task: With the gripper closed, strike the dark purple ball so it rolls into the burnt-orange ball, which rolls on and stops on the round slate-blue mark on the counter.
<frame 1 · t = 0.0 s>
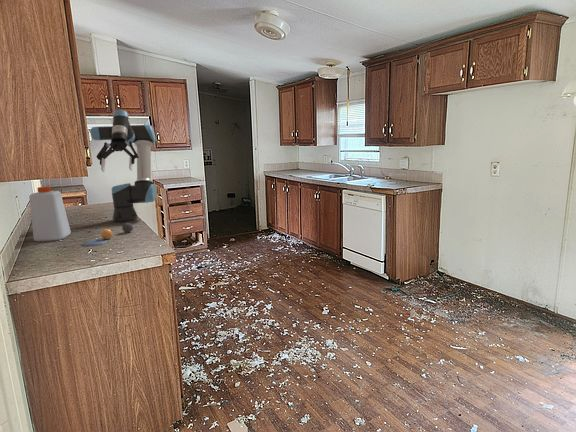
hand: (116, 169, 185), 36 cm above the counter, tool tilted 35°, fingers open, 13 cm apart
orange ball: (106, 233, 190), on the counter
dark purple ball: (127, 227, 202), on the counter
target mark: (95, 242, 184), on the counter
plastic bottle: (53, 238, 197), on the counter
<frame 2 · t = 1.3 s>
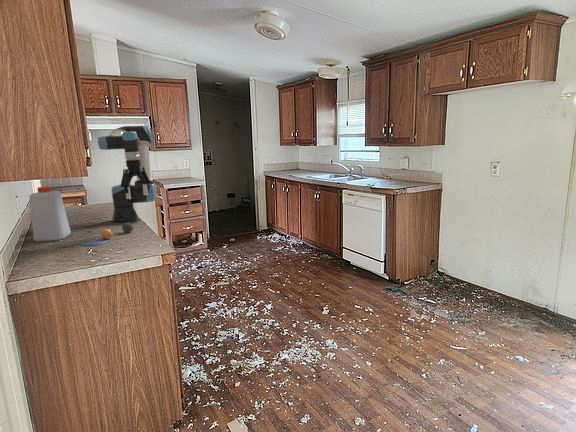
hand: (137, 197, 208), 18 cm above the counter, tool pointing down, fingers open, 12 cm apart
nothing on the counter moved.
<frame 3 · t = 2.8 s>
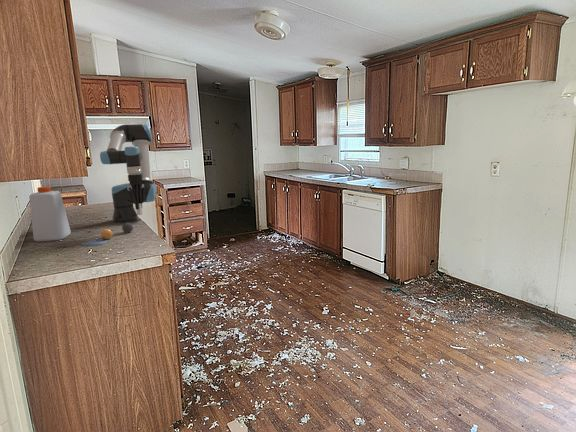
hand: (139, 214, 210), 8 cm above the counter, tool pointing down, fingers closed
nothing on the counter moved.
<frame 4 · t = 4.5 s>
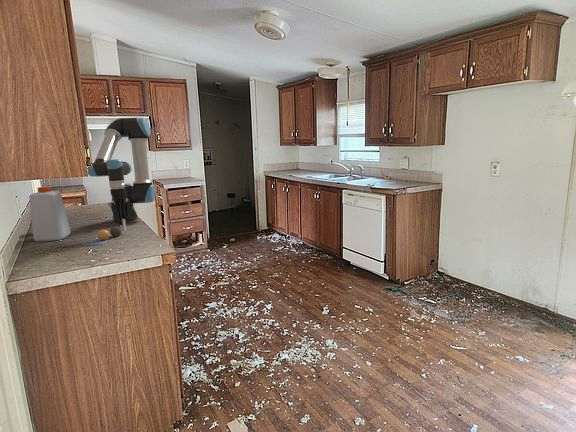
hand: (123, 230, 200), 2 cm above the counter, tool pointing down, fingers closed
orange ball: (103, 234, 188), on the counter
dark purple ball: (115, 231, 195), on the counter
everything else where it was.
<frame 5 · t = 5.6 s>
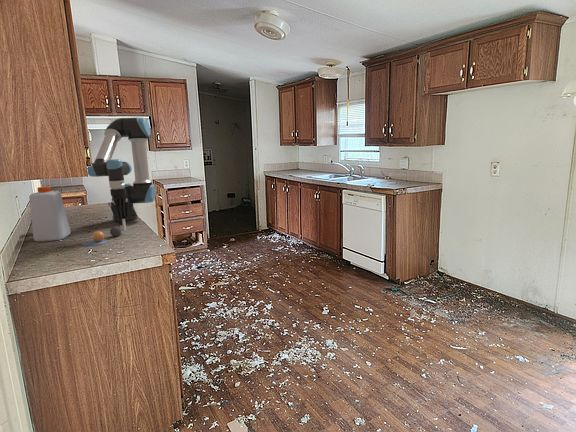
hand: (123, 230, 200), 2 cm above the counter, tool pointing down, fingers closed
orange ball: (98, 236, 185), on the counter
everything else where it was.
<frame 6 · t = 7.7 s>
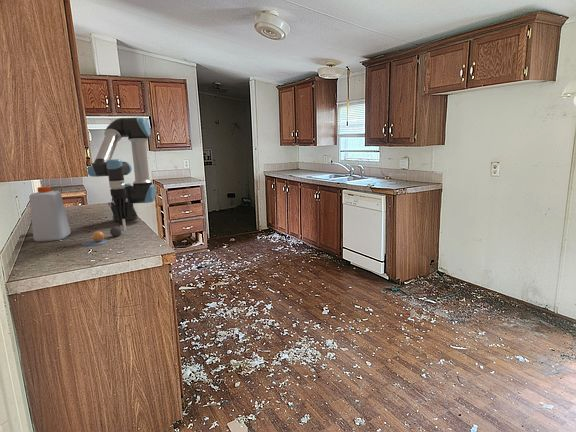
hand: (123, 230, 200), 2 cm above the counter, tool pointing down, fingers closed
nothing on the counter moved.
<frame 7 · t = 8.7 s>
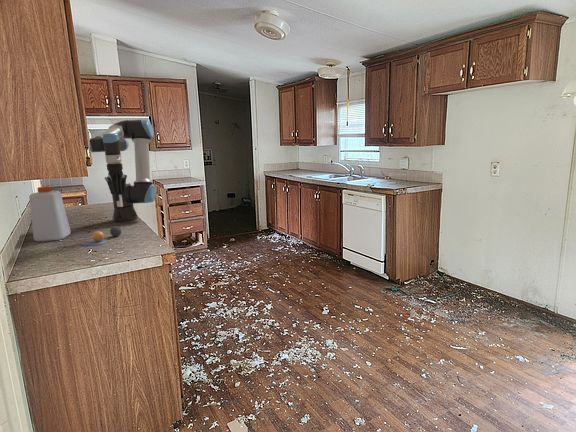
hand: (120, 206, 197), 15 cm above the counter, tool pointing down, fingers closed
nothing on the counter moved.
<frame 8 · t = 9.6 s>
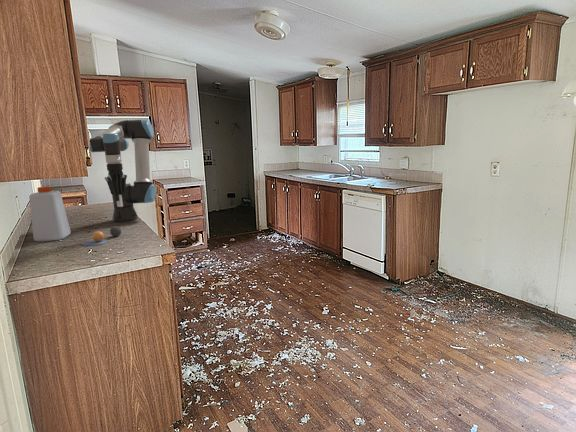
hand: (120, 206, 197), 15 cm above the counter, tool pointing down, fingers closed
nothing on the counter moved.
at the end: orange ball 2.4 cm from the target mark (horizontally); orange ball never touched the robot; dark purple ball first touched orange ball at 4.3 s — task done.
